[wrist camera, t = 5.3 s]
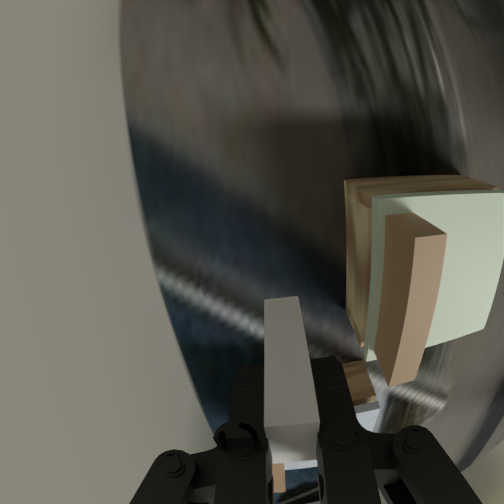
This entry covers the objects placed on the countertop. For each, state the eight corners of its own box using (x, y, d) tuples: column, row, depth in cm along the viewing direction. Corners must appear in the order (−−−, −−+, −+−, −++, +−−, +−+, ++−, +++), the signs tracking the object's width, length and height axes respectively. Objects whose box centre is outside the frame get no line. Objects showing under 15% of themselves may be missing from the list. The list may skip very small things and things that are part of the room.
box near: (343, 179, 17) (367, 193, 13) (461, 174, 16) (498, 187, 12) (345, 310, 21) (360, 347, 17) (449, 290, 20) (474, 318, 16)
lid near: (371, 195, 13) (407, 218, 9) (504, 189, 12) (545, 206, 8) (363, 353, 16) (379, 397, 13) (478, 322, 15) (504, 353, 12)
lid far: (251, 418, 19) (250, 458, 16) (377, 400, 18) (389, 438, 15) (265, 464, 23) (265, 494, 20) (360, 452, 22) (366, 481, 19)
